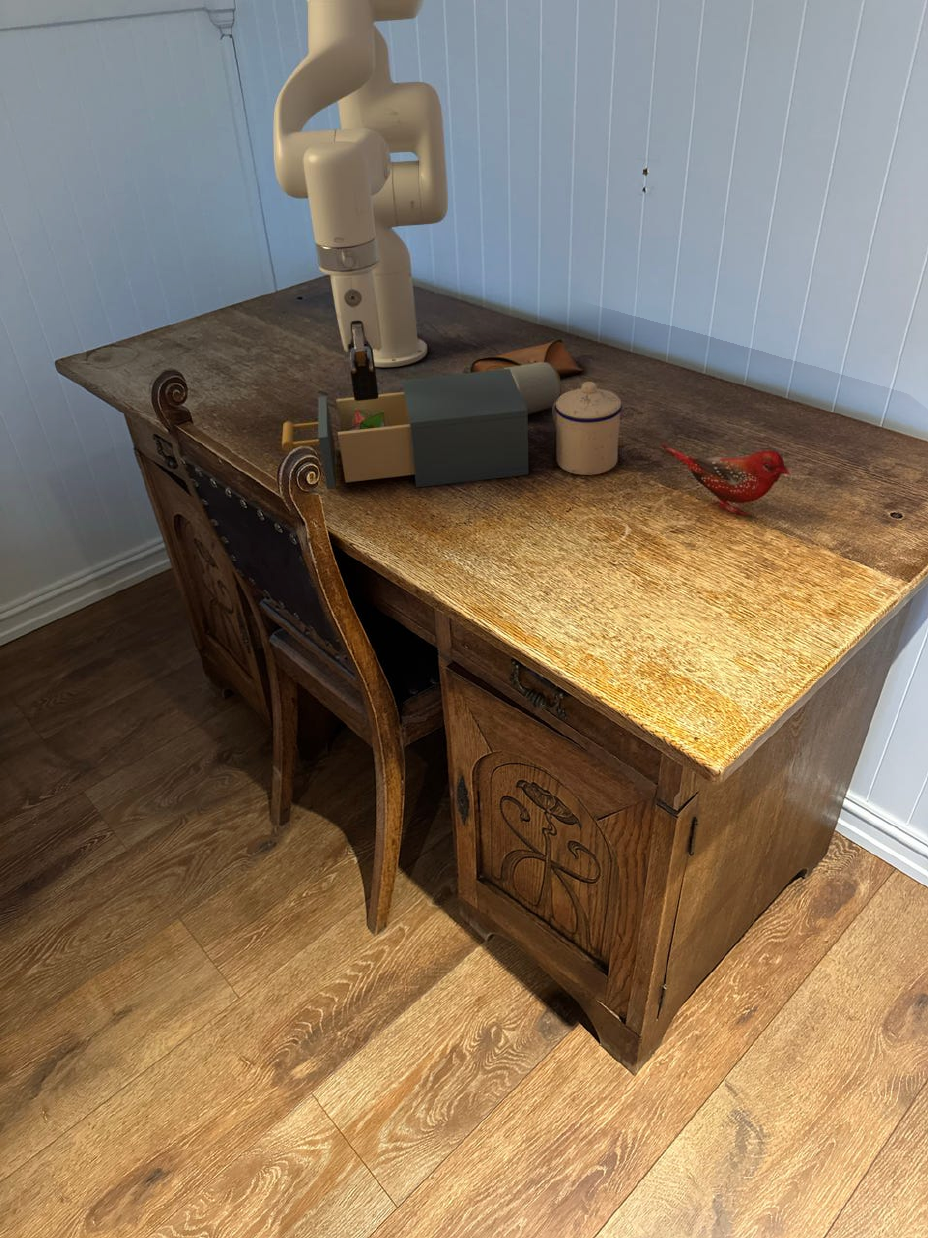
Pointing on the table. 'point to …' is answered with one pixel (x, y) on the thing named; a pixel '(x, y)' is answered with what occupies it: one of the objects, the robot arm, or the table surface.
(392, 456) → the drawer
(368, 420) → the geometric puzzle
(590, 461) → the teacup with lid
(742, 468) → the decorative bird figurine
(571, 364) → the sunglasses case
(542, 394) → the ceramic mug
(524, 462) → the cabinet
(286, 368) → the table surface
